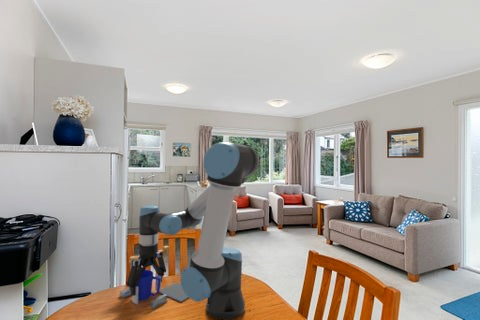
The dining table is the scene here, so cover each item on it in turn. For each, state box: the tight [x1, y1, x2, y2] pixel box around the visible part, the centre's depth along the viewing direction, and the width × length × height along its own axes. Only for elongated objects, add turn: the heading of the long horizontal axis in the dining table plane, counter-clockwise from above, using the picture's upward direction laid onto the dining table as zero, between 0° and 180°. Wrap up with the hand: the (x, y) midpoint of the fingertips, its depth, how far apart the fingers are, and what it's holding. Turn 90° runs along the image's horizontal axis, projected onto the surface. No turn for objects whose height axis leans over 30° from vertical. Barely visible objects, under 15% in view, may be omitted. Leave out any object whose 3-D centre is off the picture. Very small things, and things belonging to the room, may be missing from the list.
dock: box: [119, 263, 168, 310], centre depth 108 cm, size 19×10×12 cm, turn 58°
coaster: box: [158, 281, 190, 304], centre depth 114 cm, size 14×11×1 cm
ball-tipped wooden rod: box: [128, 245, 170, 265], centre depth 118 cm, size 19×4×3 cm, turn 139°
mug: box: [137, 269, 162, 302], centre depth 108 cm, size 8×12×10 cm
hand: (147, 296), depth 108 cm, fingers open, 11 cm apart
